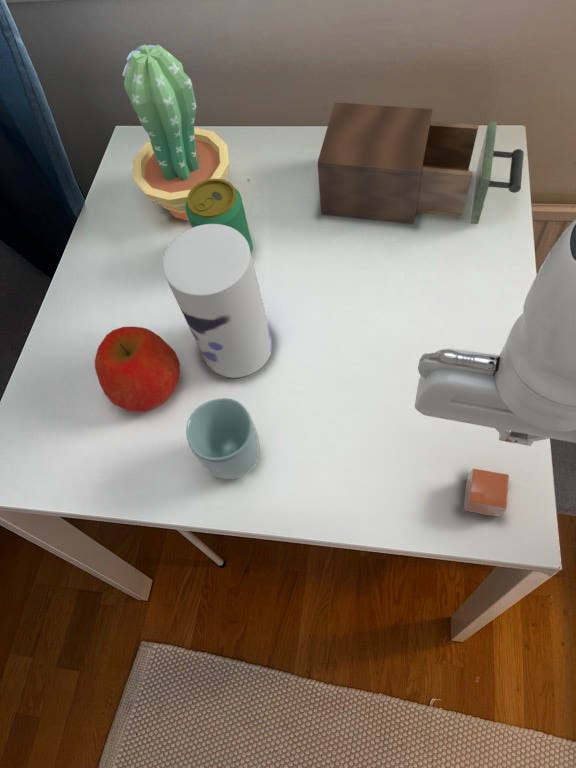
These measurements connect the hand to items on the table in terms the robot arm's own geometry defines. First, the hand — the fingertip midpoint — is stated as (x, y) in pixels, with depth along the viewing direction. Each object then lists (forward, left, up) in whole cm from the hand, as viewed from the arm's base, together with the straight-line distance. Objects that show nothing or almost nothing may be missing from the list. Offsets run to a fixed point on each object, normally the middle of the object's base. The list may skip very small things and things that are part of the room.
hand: (514, 436), depth 57 cm
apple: (+46, -5, -15) cm, 49 cm away
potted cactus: (+50, -39, -15) cm, 65 cm away
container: (+35, -13, -15) cm, 40 cm away
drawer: (+9, -45, -14) cm, 48 cm away
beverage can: (+41, -29, -15) cm, 52 cm away
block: (0, +2, -15) cm, 15 cm away
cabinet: (+21, -45, -15) cm, 52 cm away
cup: (+31, +3, -15) cm, 35 cm away
